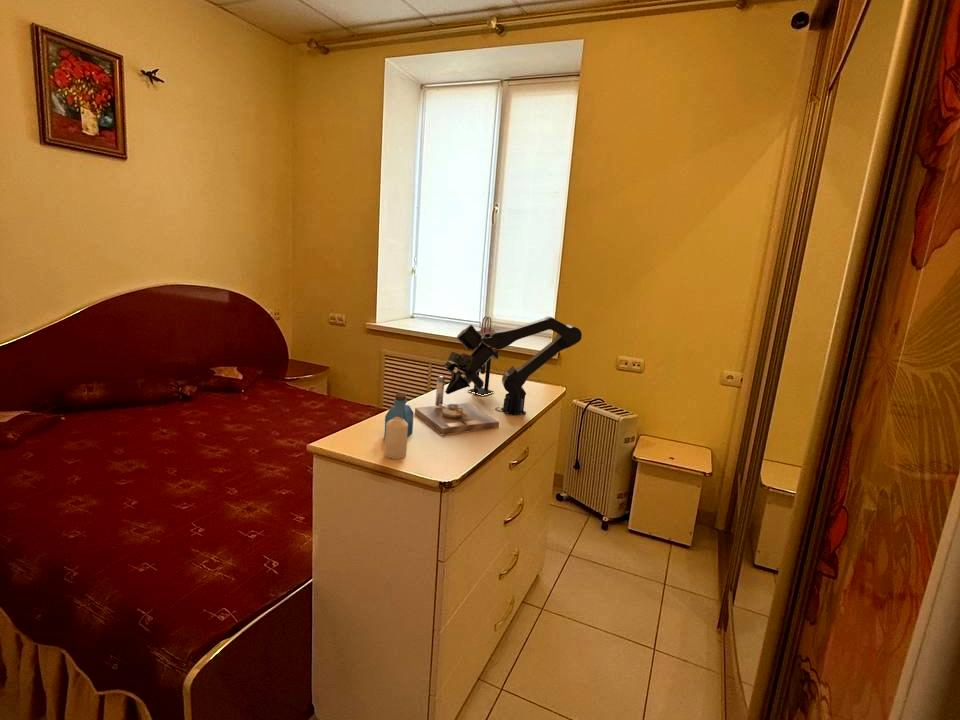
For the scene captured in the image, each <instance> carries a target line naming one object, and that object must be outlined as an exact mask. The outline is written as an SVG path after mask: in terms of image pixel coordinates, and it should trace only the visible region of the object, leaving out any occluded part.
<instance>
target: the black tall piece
mask: <svg viewBox="0 0 960 720" xmlns="http://www.w3.org/2000/svg"><path fill="white" fill-rule="evenodd" d="M492 328H493V327H492V318H491V317H490V316H487V315H486V316H484V317H483V318H482V321H481V328H480V330H476V331H477V332H478V333H479V334H480V335H482V334H490V333H491V332H492V331H494V330H495V329H492ZM481 341H482V340H481ZM482 342H483V341H482ZM483 343H484V342H483ZM484 344H485V343H484ZM479 345H480V344H479ZM479 345H478V346H479ZM485 345H486V346H488V345H487V344H485ZM478 346H477V347H478ZM489 346H490V347H491V348H492V349H494V348H493V347H492V346H491V345H489ZM477 347H476V348H477ZM491 363H492V357H491V358H490V359H489V360H488V361H487V362H486V363H485V364H484V366H483V368H484V369H483V370H482V371H481V370H479V371H478V372H477V373H476V374H477V375H478V376H479V377H480V375H485V376H484V386H483V387H482V388H481V389H480V390H479V389H477V388H475V384H474V383H473V388H472V389H467V392H469V391H471V392H475V393H478V394H481V395H484V394H488V393H491V392H492V393H495V390H490V389H489V386H490V374H491Z"/></svg>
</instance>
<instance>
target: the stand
mask: <svg viewBox="0 0 960 720" xmlns="http://www.w3.org/2000/svg"><path fill="white" fill-rule="evenodd" d="M455 404H456V405H458V407H461V408H462V409H463V413H464V414H466V415H467V417H464V416H462V417H461V418H447V417H444V416H443V415H442V412H443V409H442V408H441V407H439V406H436V405H430V406H421V407H414V414H415V415H416V416H417V417H418V418H420V419H421V420H422V421H424V423H426V424H427V425H429V426H430V427H431V428H432V429H434V430H435V431H437V433H439V434H440V435H442V436H444V435H451V434H459V433H460V432H461V433H468V432H467V431H469V432H475V431H474V430H477V431H483V430H482V429H485V430H491V428H493V429H499V428H500V421H499V420H497V419H495V418H494V417H492V416H490V415H489V414H487V413H486V412H484V411H483V410H481V409H479V408H477V407H476V406H474V405H473V404H471V403H470V402H464V403H455ZM446 405H447V406H448V405H449V404H446ZM461 433H460V434H461Z"/></svg>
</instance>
